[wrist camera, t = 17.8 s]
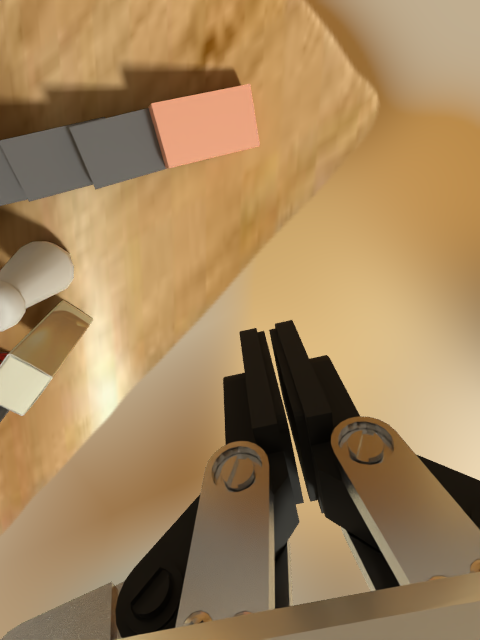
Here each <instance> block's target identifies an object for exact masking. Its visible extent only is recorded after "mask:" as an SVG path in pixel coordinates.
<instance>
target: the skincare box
mask: <svg viewBox="0 0 480 640" xmlns="http://www.w3.org/2000/svg"><path fill="white" fill-rule="evenodd" d="M92 321H93V319H92V318H91V317H89V316H88V315H86V314H85V313H83V312H82V311H80V310H79V309H77V308H76V307H74V306H72V305H71V304H69V303H68V302H66V301H64V300H62V301H61V302H60V303H59V304H58V305H57V306H56V307H55V308H54V309H53V310H52V311H51V312H50V313H49V314H48V315H47V316H46V317H45V318H44V319H43V320H42V321H41V322H40V323H39V324H38V325H37V326H36V327H35V328H34V329H33V330H32V331H31V332H30V333H29V334H28V335H27V336H26V337H25V338H24V339H23V340H22V341H21V342H20V343H19V344H17V345H16V346H15V347H14V348H13V349H12V350H11V351H10V352H9V354H8V355H7V356H6V358H5V359H4V360H3V362H2V363H1V365H0V406H2V407H4V408H6V409H8V410H10V411H12V412H15V413H17V414H19V415H21V416H23V415H24V414H25V413H26V412H27V411H28V410H29V409H30V408H31V406H32V405H33V404H34V403H35V401H36V400H37V399H38V397H39V396H40V395H41V394H42V392H43V391H44V389H45V388H46V387H47V385H48V384H49V382H50V381H51V379H52V378H53V377H54V375H55V374H56V372H57V371H58V369H59V368H60V367H61V365H62V364H63V362H64V361H65V359H66V358H67V357H68V355H69V354H70V352H71V351H72V350H73V348H74V347H75V345H76V344H77V342H78V341H79V340H80V338H81V337H82V335H83V334H84V333H85V331H86V330H87V328H88V327H89V325H90V324H91V323H92Z"/></svg>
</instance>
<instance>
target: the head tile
mask: <svg viewBox="0 0 480 640" xmlns="http://www.w3.org/2000/svg"><path fill="white" fill-rule="evenodd" d="M149 111H150V114H151V118H152V121H153V125H154V128H155V132H156V135H157V139H158V142H159V146H160V149H161V153H162V156H163V160H164V163H165V167H166V168H172V167H176V166H180V165H184V164H189V163H193V162H197V161H201V160H205V159H209V158H213V157H217V156H221V155H225V154H229V153H234V152H238V151H242V150H246V149H250V148H254V147H258V146H260V143H259V136H258V130H257V124H256V117H255V111H254V105H253V98H252V92H251V86H250V84H246V85H241V86H236V87H231V88H226V89H221V90H216V91H211V92H206V93H201V94H196V95H191V96H186V97H181V98H176V99H171V100H166V101H161V102H156V103H151V104H150V106H149Z"/></svg>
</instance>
